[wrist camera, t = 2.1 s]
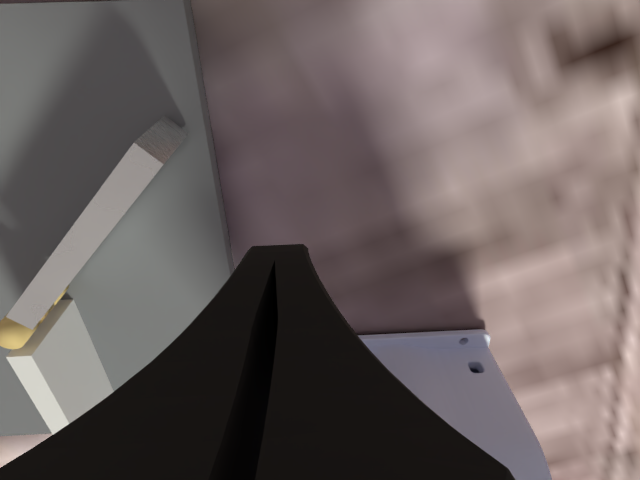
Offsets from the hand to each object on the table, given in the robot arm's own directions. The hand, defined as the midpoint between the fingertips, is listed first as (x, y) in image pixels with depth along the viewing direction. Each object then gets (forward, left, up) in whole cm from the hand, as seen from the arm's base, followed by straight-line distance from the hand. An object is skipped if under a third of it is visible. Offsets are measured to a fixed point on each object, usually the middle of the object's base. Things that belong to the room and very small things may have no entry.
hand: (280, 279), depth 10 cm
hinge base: (+11, +5, -8) cm, 15 cm away
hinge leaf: (+8, +2, -7) cm, 11 cm away
